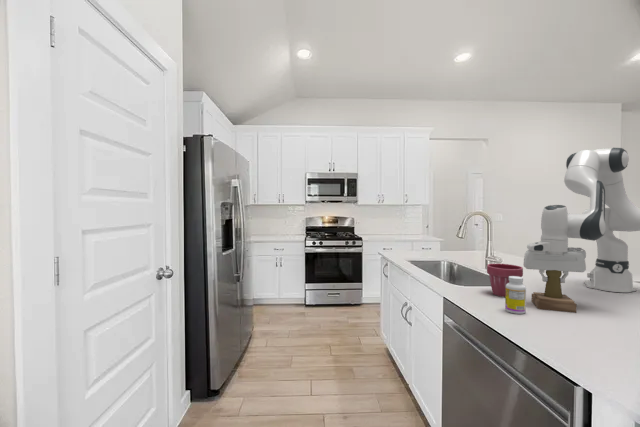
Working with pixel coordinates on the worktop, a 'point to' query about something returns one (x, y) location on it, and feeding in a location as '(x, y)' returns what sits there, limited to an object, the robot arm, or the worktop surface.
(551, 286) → the cork
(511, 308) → the supplement bottle
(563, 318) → the worktop surface
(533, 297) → the walnut stand
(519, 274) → the plant pot
